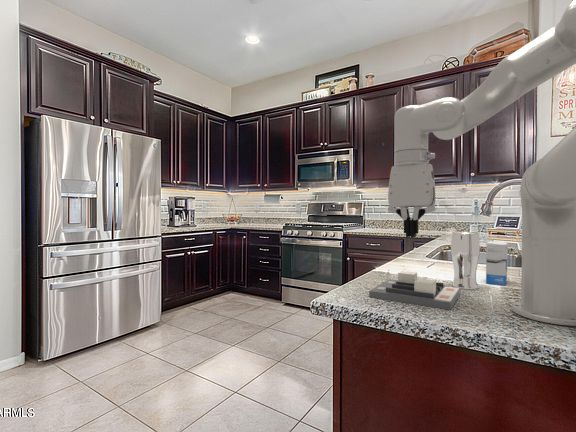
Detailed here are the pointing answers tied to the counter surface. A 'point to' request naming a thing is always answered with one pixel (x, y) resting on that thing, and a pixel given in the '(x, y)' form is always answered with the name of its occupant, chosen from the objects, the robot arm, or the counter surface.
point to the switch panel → (416, 294)
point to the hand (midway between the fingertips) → (411, 236)
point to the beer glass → (465, 259)
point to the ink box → (496, 262)
